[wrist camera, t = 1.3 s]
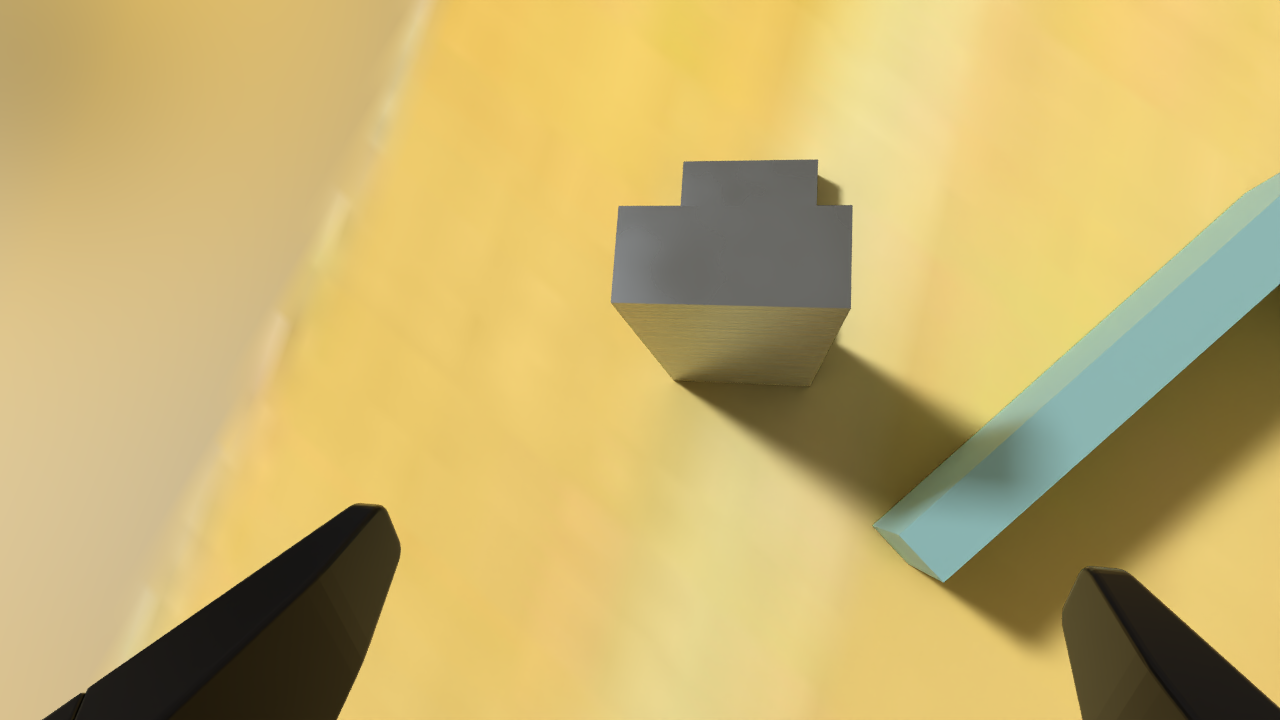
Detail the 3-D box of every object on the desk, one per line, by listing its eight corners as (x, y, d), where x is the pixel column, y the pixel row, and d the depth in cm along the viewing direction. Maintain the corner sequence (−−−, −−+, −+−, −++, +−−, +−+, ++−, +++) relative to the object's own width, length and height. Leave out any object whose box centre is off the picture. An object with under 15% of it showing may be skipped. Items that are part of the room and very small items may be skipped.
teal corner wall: (1162, 836, 18) (1273, 932, 14) (872, 525, 21) (898, 534, 17) (1593, 456, 18) (1823, 447, 14) (1245, 192, 21) (1359, 125, 17)
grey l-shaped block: (809, 386, 22) (850, 308, 12) (673, 380, 23) (611, 303, 13) (815, 173, 23) (856, -51, 13) (686, 174, 24) (638, -36, 14)
